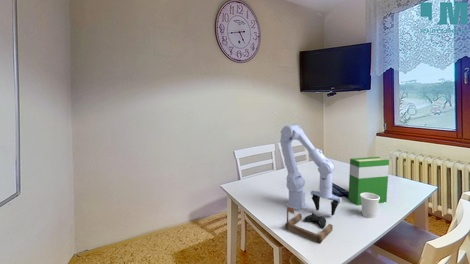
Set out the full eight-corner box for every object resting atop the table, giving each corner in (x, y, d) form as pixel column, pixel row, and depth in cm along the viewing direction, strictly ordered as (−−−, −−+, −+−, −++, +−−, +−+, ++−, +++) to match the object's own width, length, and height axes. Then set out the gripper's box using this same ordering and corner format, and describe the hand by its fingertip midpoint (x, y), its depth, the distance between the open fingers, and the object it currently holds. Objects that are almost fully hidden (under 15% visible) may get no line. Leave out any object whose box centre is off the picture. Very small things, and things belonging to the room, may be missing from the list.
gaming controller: (302, 220, 107) (307, 209, 110) (306, 225, 111) (311, 213, 113) (322, 228, 101) (327, 215, 103) (326, 232, 104) (330, 220, 106)
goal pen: (298, 218, 111) (299, 197, 110) (332, 230, 100) (333, 207, 99) (285, 228, 102) (285, 206, 101) (320, 243, 91) (320, 218, 90)
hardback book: (376, 197, 133) (378, 156, 130) (386, 202, 126) (389, 159, 123) (348, 199, 130) (350, 158, 127) (357, 205, 123) (359, 162, 120)
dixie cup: (381, 220, 108) (383, 199, 106) (362, 218, 109) (363, 198, 108) (374, 211, 116) (375, 192, 114) (356, 210, 117) (357, 191, 116)
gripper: (344, 187, 110) (343, 213, 111) (315, 180, 120) (314, 205, 121) (338, 191, 105) (337, 219, 106) (308, 184, 115) (308, 209, 116)
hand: (325, 212), depth 114 cm, fingers open, 7 cm apart
